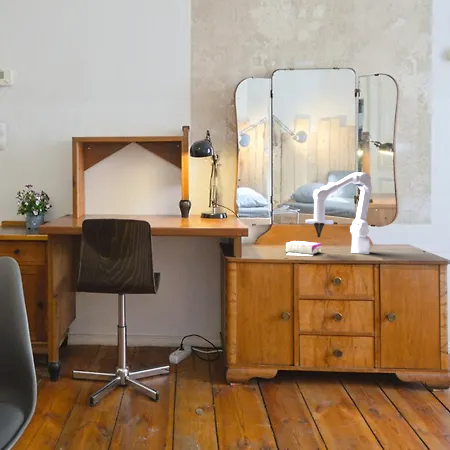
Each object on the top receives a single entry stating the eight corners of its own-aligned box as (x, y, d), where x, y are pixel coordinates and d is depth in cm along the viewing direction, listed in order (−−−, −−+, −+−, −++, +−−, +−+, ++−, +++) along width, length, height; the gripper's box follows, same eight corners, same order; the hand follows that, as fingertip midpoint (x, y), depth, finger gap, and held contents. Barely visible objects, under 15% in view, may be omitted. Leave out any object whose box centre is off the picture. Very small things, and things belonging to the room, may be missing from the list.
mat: (314, 251, 250) (314, 251, 250) (312, 256, 235) (312, 256, 235) (290, 250, 254) (290, 250, 254) (286, 255, 239) (286, 254, 239)
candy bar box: (321, 252, 247) (294, 249, 257) (321, 243, 247) (295, 240, 257) (311, 255, 238) (285, 251, 248) (312, 245, 238) (285, 242, 248)
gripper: (333, 211, 241) (332, 236, 243) (306, 211, 245) (306, 235, 247) (333, 212, 234) (332, 238, 236) (305, 212, 238) (304, 237, 240)
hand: (318, 237), depth 241 cm, fingers closed
